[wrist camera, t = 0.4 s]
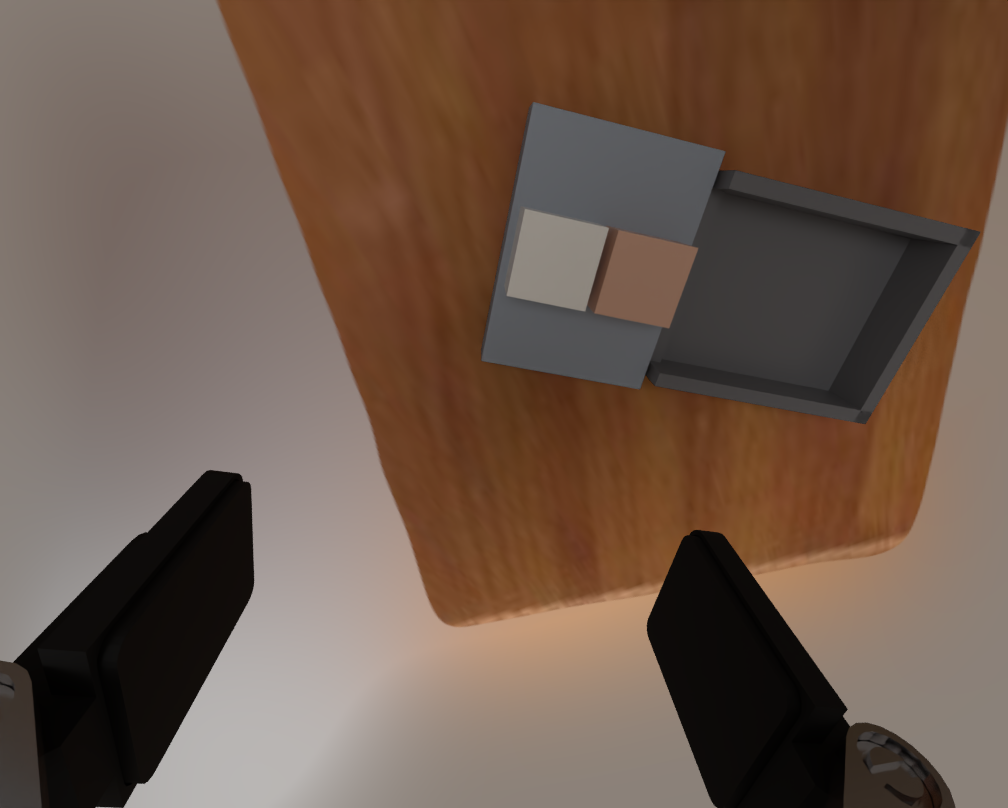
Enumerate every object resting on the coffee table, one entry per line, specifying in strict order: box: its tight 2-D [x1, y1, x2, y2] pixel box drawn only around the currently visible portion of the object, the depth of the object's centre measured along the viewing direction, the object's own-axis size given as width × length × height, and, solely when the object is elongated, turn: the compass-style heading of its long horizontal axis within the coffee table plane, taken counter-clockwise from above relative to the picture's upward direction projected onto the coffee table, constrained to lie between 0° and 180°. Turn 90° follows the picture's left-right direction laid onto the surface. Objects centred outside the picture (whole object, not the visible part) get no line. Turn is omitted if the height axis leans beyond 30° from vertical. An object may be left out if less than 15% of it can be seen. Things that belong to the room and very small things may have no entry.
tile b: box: [587, 225, 698, 328], centre depth 30 cm, size 5×5×3 cm
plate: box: [481, 102, 726, 389], centre depth 32 cm, size 16×12×2 cm
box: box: [645, 170, 980, 424], centre depth 34 cm, size 14×17×4 cm
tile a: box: [504, 206, 609, 311], centre depth 29 cm, size 5×5×3 cm
